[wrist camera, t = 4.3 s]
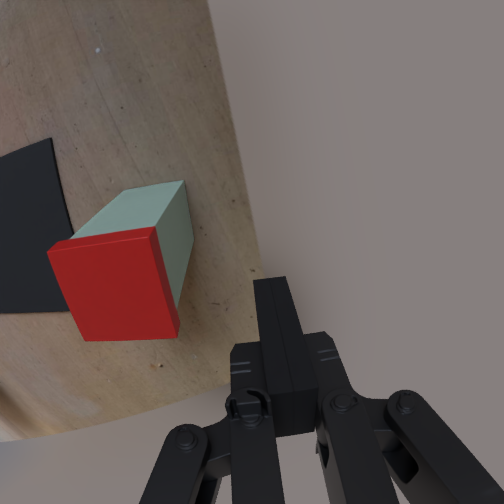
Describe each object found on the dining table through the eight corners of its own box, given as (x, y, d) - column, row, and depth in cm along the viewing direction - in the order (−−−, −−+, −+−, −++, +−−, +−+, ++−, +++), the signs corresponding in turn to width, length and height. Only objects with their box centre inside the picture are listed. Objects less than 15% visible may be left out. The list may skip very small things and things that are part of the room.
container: (186, 176, 27) (149, 236, 15) (197, 242, 30) (177, 338, 18) (120, 187, 27) (46, 251, 15) (135, 249, 30) (84, 341, 18)
